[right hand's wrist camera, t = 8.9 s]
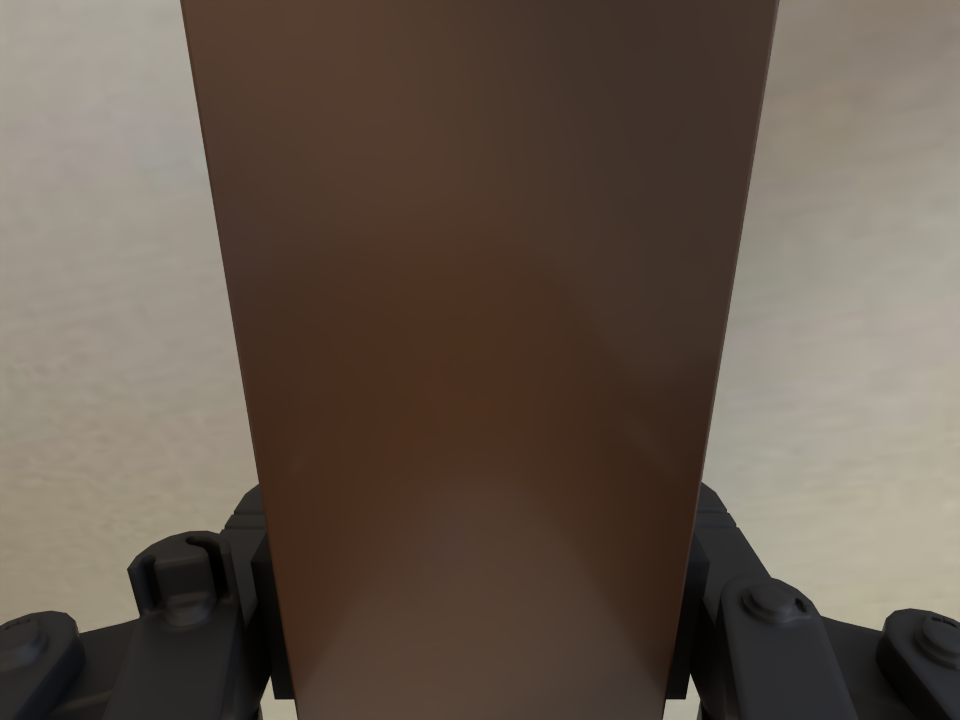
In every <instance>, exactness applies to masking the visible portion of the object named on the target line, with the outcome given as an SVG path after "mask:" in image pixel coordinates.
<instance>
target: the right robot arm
mask: <svg viewBox="0 0 960 720" xmlns="http://www.w3.org/2000/svg"><path fill="white" fill-rule="evenodd" d="M127 571H128V574H129V578H130V582H131V585H132V589H133V592H134V596H135V600H136V603H137V607H138V610H139V614H140V617H139V618H138V619H135V620H132V621H129V622H125V623H122V624H118V625H113V626H109V627H105V628H101V629H97V630H92V631H88V632H84V633H80V634H79V631H78V628H77V625H76V622H75V620H74V619H73V618H71V617H70V616H69V615H68V614H67V613H62V612H56V611H45V612H38V613H31V614H28V615H25V616H22V617H20V618H17V619H14V620H11V621H8V622H6V623H5V624H3V625H1V626H0V720H263V716H262V710H261V705H260V701H261V698H262V696H263V693H264V691H265V688H266V685H267V683H268V680H269V678H270V675H271V681H272V686H273V692H274V697H275V699H294V694H293V688H292V682H291V676H290V669H289V663H288V657H287V651H286V645H285V639H284V633H283V627H282V621H281V614H280V608H279V602H278V596H277V590H276V584H275V578H274V572H273V565H272V559H271V553H270V547H269V541H268V535H267V529H266V523H265V517H264V510H263V504H262V498H261V492H260V486H259V484H258V485H257V486H255V487H254V488H253V489H251V490H250V491H249V492H247V493H246V494H245V495H244V497H243V498H242V500H241V501H240V503H239V504H238V506H237V507H236V509H235V511H234V515H231V517H230V518H229V520H228V521H227V523H226V524H225V529H222V531H221V532H220V534H218V533H214V532H210V531H189V532H185V533H181V534H177V535H173V536H169V537H167V538H165V539H163V540H161V541H159V542H156V543H154V544H152V545H151V546H149V547H148V548H147V549H145V550H144V551H143V552H141V553H140V554H139V555H137V556H136V557H135V559H134V560H133V562H132V563H131V564H130V566H129V567H128V568H127ZM690 674H691V676H692V679H693V681H694V684H695V686H696V689H697V692H698V694H699V697H700V699H701V700H700V705H699V710H698V715H697V720H960V623H959V622H957V621H956V620H954V619H951V618H948V617H946V616H943V615H940V614H937V613H934V612H931V611H925V610H918V609H911V608H910V609H903V610H897V611H894V612H893V613H892V614H891V615H890V616H888V617H887V618H886V620H885V623H884V626H883V629H882V631H878V630H874V629H870V628H865V627H861V626H857V625H853V624H849V623H844V622H840V621H836V620H833V619H830V618H827V617H823V616H821V615H820V614H819V612H818V611H817V609H816V608H815V606H814V604H813V603H812V601H811V600H809V599H808V598H807V597H806V596H805V595H804V594H802V593H801V592H800V591H799V590H798V589H796V588H794V587H792V586H790V585H788V584H786V583H785V582H783V581H781V580H778V579H774V578H771V576H770V575H769V573H768V572H767V570H766V569H765V567H764V566H763V564H762V563H761V561H760V560H759V558H758V556H757V555H756V553H755V552H754V550H753V549H752V547H751V546H750V544H749V543H748V541H747V540H746V538H745V537H744V535H743V533H742V532H741V530H740V529H739V527H736V523H735V521H734V520H733V518H732V517H731V515H730V514H729V513H727V509H726V507H725V506H724V504H723V503H722V501H721V500H720V498H719V497H718V495H717V494H716V492H715V491H713V490H712V489H711V488H709V487H708V486H706V485H705V484H704V483H702V482H701V487H700V493H699V499H698V505H697V511H696V518H695V524H694V530H693V536H692V542H691V548H690V555H689V561H688V567H687V573H686V579H685V585H684V592H683V598H682V604H681V610H680V616H679V622H678V629H677V635H676V641H675V647H674V653H673V659H672V666H671V672H670V678H669V684H668V690H667V696H666V699H686V694H687V689H688V683H689V677H690Z"/></svg>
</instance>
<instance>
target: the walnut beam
mask: <svg viewBox="0 0 960 720" xmlns="http://www.w3.org/2000/svg"><path fill="white" fill-rule="evenodd" d="M180 3H181V9H182V15H183V21H184V27H185V33H186V39H187V45H188V52H189V58H190V64H191V70H192V76H193V82H194V88H195V94H196V101H197V107H198V113H199V119H200V125H201V131H202V137H203V143H204V149H205V156H206V162H207V168H208V174H209V180H210V186H211V192H212V198H213V205H214V211H215V217H216V223H217V229H218V235H219V241H220V247H221V253H222V260H223V266H224V272H225V278H226V284H227V290H228V296H229V302H230V309H231V315H232V321H233V327H234V333H235V339H236V345H237V351H238V357H239V364H240V370H241V376H242V382H243V388H244V394H245V400H246V406H247V413H248V419H249V425H250V431H251V437H252V443H253V449H254V455H255V461H256V468H257V474H258V480H259V486H260V492H261V498H262V504H263V510H264V517H265V523H266V529H267V535H268V541H269V547H270V553H271V559H272V565H273V572H274V578H275V584H276V590H277V596H278V602H279V608H280V614H281V621H282V627H283V633H284V639H285V645H286V651H287V657H288V663H289V669H290V676H291V682H292V688H293V694H294V700H295V706H296V712H297V718H298V720H663V715H664V709H665V703H666V696H667V690H668V684H669V678H670V672H671V666H672V659H673V653H674V647H675V641H676V635H677V629H678V622H679V616H680V610H681V604H682V598H683V592H684V585H685V579H686V573H687V567H688V561H689V555H690V548H691V542H692V536H693V530H694V524H695V518H696V511H697V505H698V499H699V493H700V487H701V480H702V474H703V468H704V462H705V456H706V450H707V443H708V437H709V431H710V425H711V419H712V413H713V406H714V400H715V394H716V388H717V382H718V376H719V369H720V363H721V357H722V351H723V345H724V339H725V332H726V326H727V320H728V314H729V308H730V302H731V295H732V289H733V283H734V277H735V271H736V265H737V258H738V252H739V246H740V240H741V234H742V228H743V221H744V215H745V209H746V203H747V197H748V191H749V184H750V178H751V172H752V166H753V160H754V154H755V147H756V141H757V135H758V129H759V123H760V117H761V110H762V104H763V98H764V92H765V86H766V80H767V73H768V67H769V61H770V55H771V49H772V43H773V36H774V30H775V24H776V18H777V12H778V6H779V0H180Z"/></svg>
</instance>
